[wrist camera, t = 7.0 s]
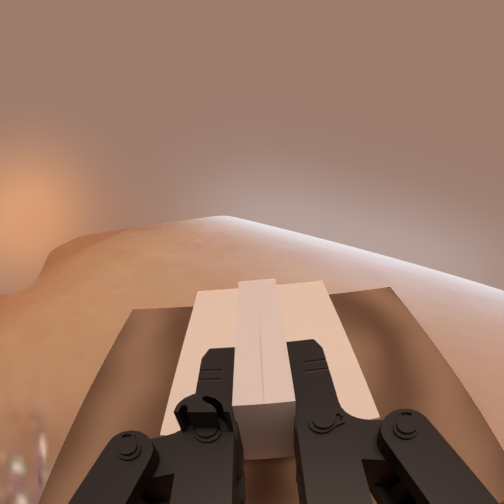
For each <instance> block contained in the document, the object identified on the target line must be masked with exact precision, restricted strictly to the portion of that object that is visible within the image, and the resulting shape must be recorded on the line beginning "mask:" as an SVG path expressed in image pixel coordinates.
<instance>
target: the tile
mask: <svg viewBox="0 0 504 504" xmlns="http://www.w3.org/2000/svg"><path fill="white" fill-rule="evenodd" d="M277 291H278V297H279V302H280V308H281V314H282V320H283V326H284V332H285V338H286V342H290V341H300V340H308V339H314V340H315V341H316V342H317V343H318V344H319V345H320V346H321V347H322V348H323V351H324V354H325V357H326V361H327V364H328V367H329V370H330V374H331V377H332V380H333V384H334V387H335V390H336V394H337V397H338V401H339V403H340V405H341V407H342V408H343V409H344V411H345V412H347V413H348V414H350V415H351V416H354V417H357V418H361V419H369V420H379V419H380V416H379V413H378V410H377V408H376V405H375V403H374V400H373V398H372V395H371V393H370V390H369V388H368V385H367V383H366V380H365V378H364V375H363V373H362V371H361V368H360V366H359V363H358V361H357V359H356V356H355V354H354V351H353V349H352V347H351V344H350V342H349V340H348V337H347V335H346V333H345V331H344V328H343V326H342V324H341V321H340V319H339V317H338V315H337V312H336V310H335V308H334V306H333V303H332V301H331V299H330V297H329V295H328V292H327V290H326V288H325V286H324V284H323V281H313V282H303V283H293V284H282V285H277ZM237 304H238V288H237V289H224V290H211V291H198V293H197V297H196V300H195V304H194V307H193V311H192V314H191V318H190V321H189V325H188V328H187V332H186V336H185V339H184V343H183V346H182V350H181V354H180V357H179V361H178V365H177V369H176V372H175V376H174V380H173V384H172V388H171V392H170V396H169V400H168V404H167V408H166V412H165V416H164V420H163V424H162V428H161V432H160V436H161V437H162V436H166V435H170V434H173V433H176V432H177V431H179V430H181V428H180V426H179V424H178V421H177V419H176V417H175V414H174V410H175V408H176V406H177V404H178V403H179V402H180V401H181V400H182V399H184V398H185V397H188V396H190V395H192V394H195V393H196V387H197V381H198V376H199V372H200V364H201V359H202V357H203V356H204V355H205V353H206V352H207V351H208V350H209V349H210V348H228V347H235V339H236V321H237Z"/></svg>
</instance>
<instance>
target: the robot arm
mask: <svg viewBox="0 0 504 504" xmlns="http://www.w3.org/2000/svg"><path fill="white" fill-rule="evenodd" d="M174 414H175V417H176V419H177V421H178V424H179V426H180V428H181V430H179V431H177V432H176V433H173V434H170V435H166V436H162V437H157V438H152V439H150V438H149V437H148V436H147V435H146V434H144V433H142V432H140V431H133V430H130V431H124V432H121V433H119V434H117V435H115V436H114V437H113V438H112V439H111V440H110V441H109V442H108V443H107V445H106V446H105V448H104V449H103V451H102V452H101V454H100V455H99V457H98V459H97V460H96V462H95V463H94V465H93V466H92V468H91V469H90V471H89V472H88V474H87V475H86V477H85V478H84V480H83V481H82V483H81V484H80V486H79V487H78V489H77V491H76V492H75V494H74V495H73V497H72V498H71V500H70V501H69V503H68V504H245V473H244V469H243V464H244V460H255V459H270V458H282V457H292V456H295V459H296V482H297V487H298V496H299V504H373V502H372V498H371V494H372V496H373V498H374V499H375V501H376V503H377V504H499V503H498V501H497V500H496V499H495V498H494V497H493V495H492V494H491V493H490V492H489V490H488V489H487V488H486V487H485V486H484V484H483V483H482V482H481V481H480V480H479V479H478V477H477V476H476V475H475V474H474V473H473V471H472V470H471V469H470V468H469V467H468V465H467V464H466V463H465V462H464V461H463V460H462V458H461V457H460V456H459V455H458V454H457V452H456V451H455V450H454V449H453V448H452V447H451V445H450V444H449V443H448V442H447V441H446V440H445V438H444V437H443V436H442V435H441V434H440V433H439V432H438V430H437V429H436V428H435V427H434V426H433V425H432V423H431V422H430V421H429V420H428V419H427V418H426V417H425V416H424V415H423V414H421V413H420V412H418V411H415V410H412V409H399V410H395V411H392V412H391V413H390V414H388V415H387V416H386V417H385V418H384V420H369V419H361V418H357V417H354V416H351V415H350V414H348V413H347V412H345V411H344V409H343V408H342V407H341V405H340V403H339V401H338V397H337V394H336V390H335V387H334V384H333V380H332V377H331V374H330V370H329V367H328V364H327V361H326V357H325V354H324V351H323V348H322V347H321V346H320V345H319V344H318V343H317V342H316V341H315V340H314V339H308V340H300V341H290V342H286V338H285V332H284V326H283V320H282V314H281V308H280V302H279V297H278V291H277V285H276V279H264V280H252V281H241V282H239V287H238V304H237V321H236V339H235V347H228V348H210V349H209V350H208V351H207V352H206V353H205V355H204V356H203V357H202V359H201V364H200V372H199V376H198V381H197V387H196V393H195V394H192V395H190V396H188V397H185V398H184V399H182V400H181V401H180V402H179V403H178V404H177V406H176V408H175V410H174ZM370 493H371V494H370Z"/></svg>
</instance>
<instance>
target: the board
mask: <svg viewBox="0 0 504 504" xmlns="http://www.w3.org/2000/svg"><path fill="white" fill-rule="evenodd" d="M329 297H330V299H331V301H332V303H333V306H334V308H335V310H336V312H337V315H338V317H339V319H340V321H341V324H342V326H343V328H344V331H345V333H346V335H347V337H348V340H349V342H350V344H351V347H352V349H353V351H354V354H355V356H356V359H357V361H358V363H359V366H360V368H361V371H362V373H363V375H364V378H365V380H366V383H367V385H368V388H369V390H370V393H371V395H372V398H373V400H374V403H375V405H376V408H377V410H378V413H379V416H380V419H379V420H384V418H385V417H386V416H387V415H388V414H390V413H391V412H392V411H395V410H399V409H412V410H415V411H418V412H420V413H421V414H423V415H424V416H425V417H426V418H427V419H428V420H429V421H430V422H431V423H432V425H433V426H434V427H435V428H436V429H437V430H438V432H439V433H440V434H441V435H442V436H443V437H444V438H445V440H446V441H447V442H448V443H449V444H450V445H451V447H452V448H453V449H454V450H455V451H456V452H457V454H458V455H459V456H460V457H461V458H462V460H463V461H464V462H465V463H466V464H467V465H468V467H469V468H470V469H471V470H472V471H473V473H474V474H475V475H476V476H477V477H478V479H479V480H480V481H481V482H482V483H483V484H484V486H485V487H486V488H487V489H488V490H489V492H490V493H491V494H492V495H493V497H494V498H495V499H496V500H497V501H498V503H499V504H504V451H503V449H502V447H501V446H500V444H499V442H498V440H497V439H496V437H495V435H494V434H493V432H492V430H491V429H490V427H489V425H488V424H487V422H486V420H485V419H484V417H483V416H482V414H481V412H480V411H479V409H478V408H477V406H476V405H475V403H474V401H473V400H472V398H471V397H470V395H469V394H468V392H467V391H466V389H465V388H464V386H463V385H462V383H461V382H460V380H459V379H458V377H457V376H456V374H455V373H454V371H453V370H452V369H451V367H450V366H449V364H448V363H447V361H446V360H445V359H444V357H443V356H442V354H441V353H440V352H439V350H438V349H437V347H436V346H435V345H434V343H433V342H432V341H431V339H430V338H429V337H428V335H427V334H426V332H425V331H424V330H423V328H422V327H421V326H420V324H419V323H418V322H417V321H416V319H415V318H414V317H413V315H412V314H411V313H410V311H409V310H408V309H407V308H406V306H405V305H404V304H403V302H402V301H401V300H400V299H399V297H398V296H397V295H396V294H395V292H394V291H393V290H392V289H391V287H387V288H380V289H372V290H365V291H357V292H348V293H340V294H331V295H329ZM192 311H193V307H178V308H159V309H135V310H132V312H131V314H130V316H129V317H128V319H127V321H126V323H125V324H124V326H123V328H122V330H121V331H120V333H119V335H118V337H117V339H116V340H115V342H114V344H113V346H112V348H111V350H110V351H109V353H108V355H107V357H106V359H105V361H104V363H103V364H102V366H101V368H100V370H99V372H98V374H97V376H96V378H95V380H94V382H93V384H92V386H91V388H90V390H89V392H88V394H87V396H86V398H85V400H84V402H83V404H82V406H81V408H80V410H79V412H78V414H77V416H76V418H75V420H74V422H73V424H72V427H71V429H70V431H69V433H68V435H67V437H66V439H65V442H64V444H63V446H62V448H61V451H60V453H59V455H58V457H57V460H56V462H55V464H54V467H53V469H52V471H51V474H50V476H49V479H48V481H47V484H46V486H45V489H44V491H43V494H42V496H41V499H40V501H39V504H68V503H69V501H70V500H71V498H72V497H73V495H74V494H75V492H76V491H77V489H78V487H79V486H80V484H81V483H82V481H83V480H84V478H85V477H86V475H87V474H88V472H89V471H90V469H91V468H92V466H93V465H94V463H95V462H96V460H97V459H98V457H99V455H100V454H101V452H102V451H103V449H104V448H105V446H106V445H107V443H108V442H109V441H110V440H111V439H112V438H113V437H114V436H115V435H117V434H119V433H121V432H124V431H130V430H133V431H140V432H142V433H144V434H146V435H147V436H148V437H149V438H150V439H152V438H157V437H161V436H160V432H161V428H162V424H163V420H164V416H165V412H166V408H167V404H168V400H169V396H170V392H171V388H172V384H173V380H174V376H175V372H176V369H177V365H178V361H179V357H180V354H181V350H182V346H183V343H184V339H185V336H186V332H187V328H188V325H189V321H190V318H191V314H192ZM243 469H244V473H245V504H299V496H298V487H297V482H296V459H295V456H292V457H282V458H270V459H255V460H244V464H243ZM370 494H371V493H370ZM371 498H372V502H373V504H377V503H376V501H375V499H374V498H373V496H372V494H371Z"/></svg>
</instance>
